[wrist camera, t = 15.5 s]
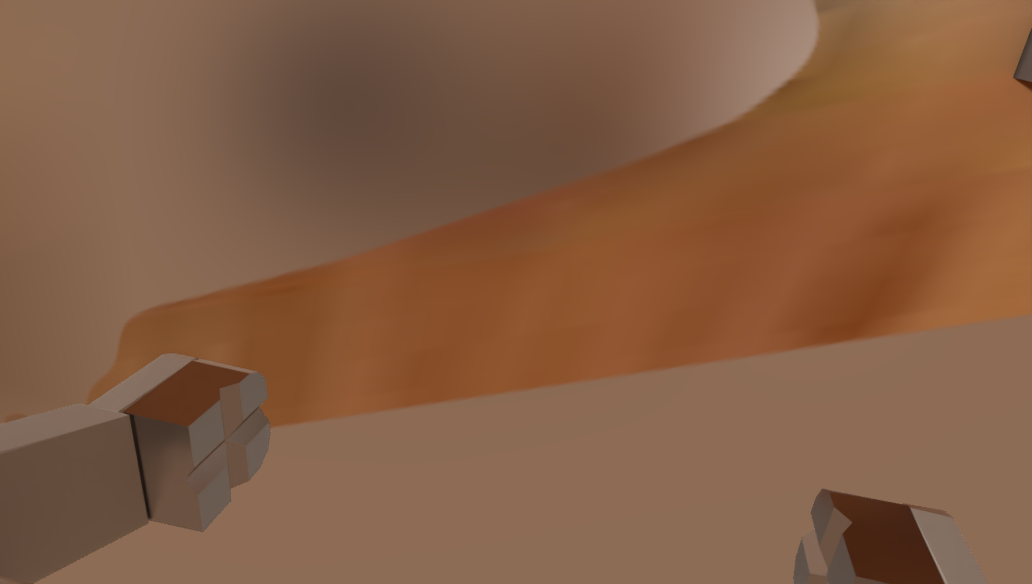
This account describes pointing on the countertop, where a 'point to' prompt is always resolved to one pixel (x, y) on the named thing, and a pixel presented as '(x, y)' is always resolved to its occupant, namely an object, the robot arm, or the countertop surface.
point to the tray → (1025, 62)
